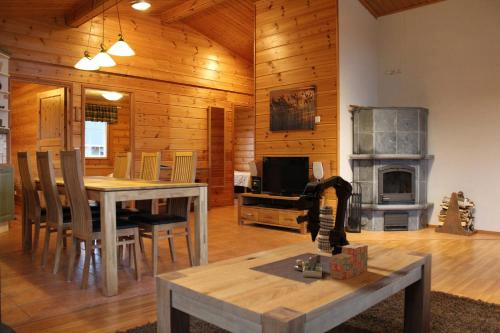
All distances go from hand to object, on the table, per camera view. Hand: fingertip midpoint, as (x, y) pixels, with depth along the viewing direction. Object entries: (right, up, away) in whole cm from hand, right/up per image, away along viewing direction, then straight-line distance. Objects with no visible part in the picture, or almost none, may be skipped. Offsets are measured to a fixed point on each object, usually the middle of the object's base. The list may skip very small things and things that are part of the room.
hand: (313, 241), depth 206 cm
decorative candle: (+12, -12, +38) cm, 41 cm away
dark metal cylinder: (-2, -12, -13) cm, 18 cm away
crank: (-3, -10, -5) cm, 12 cm away
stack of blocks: (+15, -13, -11) cm, 22 cm away
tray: (-2, -12, -14) cm, 18 cm away
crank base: (-7, -12, -5) cm, 15 cm away
